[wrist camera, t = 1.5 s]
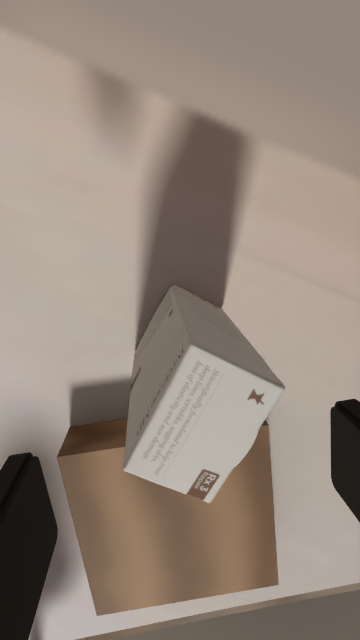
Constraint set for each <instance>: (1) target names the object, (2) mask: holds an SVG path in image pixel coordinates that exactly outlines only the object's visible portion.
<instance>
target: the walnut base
mask: <svg viewBox="0 0 360 640" xmlns="http://www.w3.org/2000/svg"><path fill="white" fill-rule="evenodd" d="M127 420H128V418H127V419H120V420H114V421H107V422H100V423H94V424H87V425H80V426H74V427H70V428H69V430H68V433H67V435H66V437H65V440H64V442H63V444H62V447H61V449H60V451H59V454H58V456H57V459H58V463H59V467H60V471H61V475H62V479H63V483H64V487H65V491H66V495H67V499H68V503H69V507H70V511H71V515H72V518H73V522H74V526H75V530H76V534H77V538H78V542H79V546H80V550H81V554H82V558H83V562H84V566H85V570H86V574H87V578H88V582H89V586H90V590H91V594H92V598H93V602H94V606H95V610H96V614H97V616H99V615H105V614H111V613H116V612H122V611H128V610H134V609H140V608H146V607H151V606H157V605H163V604H169V603H175V602H181V601H187V600H192V599H198V598H204V597H210V596H216V595H222V594H228V593H233V592H239V591H245V590H251V589H257V588H263V587H269V586H274V585H278V569H277V553H276V538H275V522H274V507H273V491H272V476H271V460H270V445H269V429H268V424H267V422H266V420H265V421H264V422H263V424H262V425H261V427H260V429H259V431H258V434H257V437H256V439H255V441H254V443H253V445H252V447H251V448H250V450H249V451H248V453H247V454H246V455H245V457H244V458H243V459H242V460H241V462H240V463H239V464H238V465H237V466H235V467H234V468H233V470H232V471H231V473H230V474H229V476H228V477H227V479H226V480H225V482H224V483H223V485H222V486H221V488H220V489H219V491H218V493H217V494H216V496H215V497H214V499H213V500H212V502H210V503H207V502H205V501H202V500H200V499H197V498H195V497H192V496H189V495H186V494H183V493H181V492H178V491H175V490H173V489H170V488H167V487H165V486H162V485H159V484H156V483H154V482H151V481H149V480H146V479H143V478H141V477H138V476H136V475H134V474H131V473H128V472H126V471H124V470H123V462H124V454H125V445H126V431H127Z"/></svg>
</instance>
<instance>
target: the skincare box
mask: <svg viewBox="0 0 360 640" xmlns="http://www.w3.org/2000/svg"><path fill="white" fill-rule="evenodd" d="M284 389H285V386H284V385H283V383H282V382H281V381H280V380H279V379H278V378H277V376H276V375H275V374H274V373H273V372H272V371H271V369H270V368H269V367H268V365H267V364H266V363H265V361H264V360H263V359H262V357H261V356H260V355H259V354H258V353H257V351H256V350H255V349H254V348H253V346H252V345H251V344H250V343H249V341H248V340H247V339H246V338H245V337H244V335H243V334H242V333H241V332H240V330H239V329H238V328H237V327H236V326H235V324H234V323H233V322H232V321H231V319H230V318H229V317H228V316H227V315H226V313H225V312H224V311H223V309H221V308H219V307H217V306H215V305H213V304H212V303H210V302H208V301H206V300H204V299H202V298H200V297H198V296H196V295H194V294H192V293H190V292H189V291H187V290H185V289H183V288H181V287H179V286H176V285H172V286H171V287H170V288H169V290H168V292H167V293H166V295H165V296H164V298H163V300H162V301H161V303H160V305H159V307H158V308H157V310H156V312H155V314H154V315H153V317H152V319H151V321H150V323H149V325H148V327H147V329H146V331H145V333H144V335H143V337H142V339H141V341H140V343H139V345H138V347H137V350H136V352H135V354H134V363H133V372H132V382H131V390H130V401H129V410H128V420H127V431H126V445H125V454H124V462H123V470H124V471H126V472H128V473H131V474H134V475H136V476H138V477H141V478H143V479H146V480H149V481H151V482H154V483H156V484H159V485H162V486H165V487H167V488H170V489H173V490H175V491H178V492H181V493H183V494H186V495H189V496H192V497H195V498H197V499H200V500H202V501H205V502H207V503H210V502H212V500H213V499H214V497H215V496H216V494H217V493H218V491H219V489H220V488H221V486H222V485H223V483H224V482H225V480H226V479H227V477H228V476H229V474H230V473H231V471H232V470H233V468H234V467H235V466H237V465H238V464H239V463H240V462H241V460H242V459H243V458H244V457H245V455H246V454H247V453H248V451H249V450H250V448H251V447H252V445H253V443H254V441H255V439H256V437H257V434H258V431H259V429H260V427H261V425H262V424H263V422H264V421H265V419H266V418H267V416H268V414H269V413H270V411H271V410H272V408H273V407H274V405H275V404H276V402H277V401H278V399H279V398H280V396H281V395H282V393H283V392H284Z"/></svg>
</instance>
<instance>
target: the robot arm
mask: <svg viewBox="0 0 360 640" xmlns="http://www.w3.org/2000/svg"><path fill="white" fill-rule="evenodd" d="M331 479H332V483H333V485H334V487H335V489H336V491H337V492H338V493H339V495H340V496H341V497H342V499H343V500H344V501H345V503H346V504H347V506H348V507H349V508H350V510H351V511H352V512H353V514H354V515H355V516H356V518H357V519H358V521H359V522H360V402H359V401H358V400H356V399H350V400H344V401H338V402H336V404H335V407H332V408H331ZM56 540H57V524H56V520H55V517H54V513H53V509H52V506H51V502H50V498H49V494H48V491H47V487H46V483H45V480H44V476H43V472H42V468H41V465H40V461H39V458H38V457H37V456H34V457H33V455H32V454H31V453H23V454H16V455H11V456H9V457H8V459H7V460H6V462H5V464H4V465H3V467H2V469H1V470H0V640H28V638H29V635H30V631H31V628H32V624H33V621H34V617H35V614H36V610H37V607H38V603H39V600H40V596H41V593H42V589H43V586H44V582H45V579H46V575H47V572H48V568H49V565H50V561H51V558H52V554H53V551H54V547H55V544H56ZM77 640H360V583H356V584H351V585H345V586H340V587H335V588H330V589H325V590H320V591H314V592H309V593H304V594H299V595H294V596H289V597H284V598H278V599H273V600H268V601H263V602H258V603H253V604H248V605H243V606H238V607H233V608H228V609H223V610H218V611H213V612H208V613H203V614H198V615H193V616H188V617H183V618H178V619H173V620H169V621H164V622H159V623H154V624H149V625H144V626H140V627H135V628H130V629H125V630H120V631H115V632H110V633H106V634H101V635H96V636H91V637H86V638H81V639H77Z"/></svg>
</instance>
